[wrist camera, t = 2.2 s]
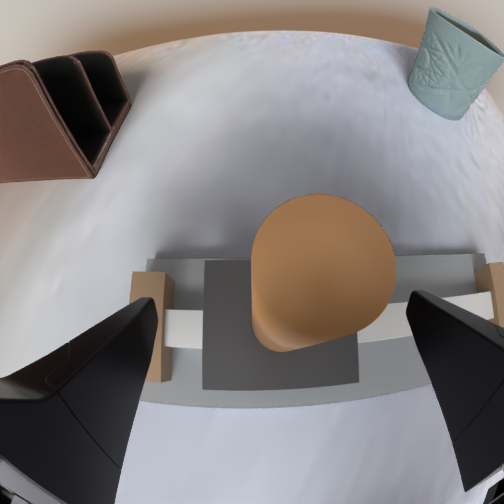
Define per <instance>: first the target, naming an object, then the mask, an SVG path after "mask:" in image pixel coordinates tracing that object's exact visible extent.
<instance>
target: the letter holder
mask: <svg viewBox="0 0 504 504" xmlns="http://www.w3.org/2000/svg"><path fill="white" fill-rule="evenodd" d="M131 106H132V104H131V101H130V98H129V95H128V93H127V91H126V87H125V86H124V83H123V81H122V79H121V76H120V73H119V71H118V68H117V66H116V63H115V60H114V58H113V57H112V55H111V54H110V53H108V52H106V51H85V52H80V53H75V54H71V55H67V56H57V57H53V58H47V59H43V60H40V61H36V62H33V63H31V62H29V61H26V60H18V61H13V62H10V63H7V64H4V65H1V66H0V183H5V182H21V181H37V180H55V179H86V178H92V179H94V178H95V177H96V174H97V173H98V171H99V168H100V166H101V164H102V162H103V160H104V158H105V155H106V153H107V151H108V149H109V147H110V145H111V143H112V141H113V139H114V137H115V135H116V133H117V131H118V129H119V128H120V126H121V124H122V122H123V120H124V118H125V117H126V115H127V113H128V111H129V110H130V108H131Z"/></svg>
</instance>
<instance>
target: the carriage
mask: <svg viewBox="0 0 504 504" xmlns="http://www.w3.org/2000/svg"><path fill="white" fill-rule="evenodd" d="M395 283H396V259H395V255H394V250H393V247H392V245H391V242H390V240H389V238H388V236H387V234H386V232H385V231H384V229H383V228H382V226H381V225H380V224H379V223H378V222H377V220H376V219H375V218H374V217H373V216H372V215H371V214H370V213H368V212H367V211H366V210H364V209H363V208H362V207H360V206H358V205H357V204H355V203H353V202H351V201H349V200H346V199H344V198H341V197H337V196H332V195H326V194H310V195H304V196H300V197H297V198H294V199H291V200H289V201H287V202H285V203H283V204H282V205H280V206H278V207H277V208H276V209H275V210H273V211H272V212H271V213H270V214H269V215H268V216H267V217H266V219H265V220H264V221H263V223H262V224H261V226H260V228H259V230H258V231H257V233H256V236H255V239H254V242H253V247H252V253H251V260H205V268H204V293H203V334H202V390H225V391H262V390H288V389H303V388H316V387H326V386H335V385H344V384H351V383H359V357H358V338H357V332H358V331H360V330H362V329H364V328H366V327H367V326H369V325H370V324H372V323H373V322H374V321H375V320H376V319H377V318H378V317H379V316H380V315H381V314H382V312H383V311H384V310H385V308H386V307H387V305H388V303H389V301H390V299H391V297H392V294H393V291H394V287H395Z"/></svg>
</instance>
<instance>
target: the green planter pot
mask: <svg viewBox="0 0 504 504" xmlns="http://www.w3.org/2000/svg"><path fill="white" fill-rule="evenodd" d="M420 46H421V47H420V49H419V53H418V55H417V56H416V61H415V63H414V67H413V70H412V72H411V75H410V77H409V81H408V86H409V89H410V91H411V92H412V94H413V95H414V96H415V97H416V98H417V99H418V100H419V101H420V102H421V103H422V104H423V105H424V106H426V107H427V108H428V109H430V110H431V111H433V112H434V113H436V114H438V115H440V116H442V117H444V118H446V119H449V120H459V119H461V118H462V117H463V116H464V114H465V113H466V112H467V110H468V109H469V108H470V105H471V103H473V102H474V101H475V99H477V97H478V96H479V94H480V93H481V92H482V91H483V89H484V88H485V86H486V84H487V83H488V81H489V79H490V78H491V77H492V76H493V74H494V73H495V72H496V71H497V69H498V68H499V67H500V66H501V64H502V63H503V62H504V54H503V53H502V52H501V51H500V50H499V49H498V48H497V47H496V46H495V45H494V44H493V43H492V42H490V41H489V40H488V39H487V38H486V37H485V36H483V35H482V34H480V33H479V32H478V31H477V30H475V29H474V28H472V27H471V26H469V25H468V24H466V23H464V22H463V21H461V20H460V19H458V18H456V17H454V16H452V15H450V14H448V13H446V12H444V11H442V10H439V9H437V8H433V7H432V8H430V10H429V14H428V19H427V23H426V30H425V31H424V34H423V38H422V42H421V45H420Z"/></svg>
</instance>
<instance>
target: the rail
mask: <svg viewBox="0 0 504 504" xmlns="http://www.w3.org/2000/svg"><path fill="white" fill-rule="evenodd" d="M395 259H396V283H395V287H394V291H393V294H392V297H391V299H390V301H389V303H388V305H387V307H386V308H385V310H384V311H383V312H382V314H381V315H380V316H379V317H378V318H377V319H376V320H375V321H374V322H373V323H372V324H370V325H369V326H367V327H366V328H364V329H362V330H360V331H358V332H357V338H358V357H359V383H351V384H344V385H335V386H326V387H316V388H303V389H288V390H262V391H225V390H202V334H203V293H204V268H205V260H251V258H203V259H147V265H146V272H133V274H132V282H131V292H130V303H129V304H131V303H132V302H134V301H136V300H137V299H139V298H140V297H152V298H153V299H154V301H155V305H156V310H157V314H158V328H157V333H156V338H155V343H154V348H153V354H152V359H151V363H150V366H149V370H148V373H147V376H146V379H145V383H144V386H143V389H142V393H141V396H140V401H144V402H152V403H160V404H169V405H179V406H191V407H208V408H281V407H297V406H310V405H320V404H329V403H337V402H345V401H352V400H358V399H364V398H370V397H376V396H381V395H386V394H391V393H396V392H400V391H405V390H409V389H413V388H417V387H421V386H425V385H428V384H432V383H431V381H430V378H429V375H428V373H427V371H426V368H425V366H424V363H423V361H422V359H421V356H420V354H419V352H418V349H417V346H416V343H415V340H414V337H413V334H412V331H411V328H410V325H409V323H408V320H407V317H406V308H407V304H408V301H409V298H410V294H411V292H412V291H413V290H424V291H426V292H428V293H431V294H433V295H435V296H437V297H439V298H442V299H444V300H446V301H448V302H450V303H452V304H455V305H457V306H459V307H461V308H463V309H465V310H467V311H470V312H472V313H474V314H476V315H478V316H480V317H482V318H484V319H486V320H488V321H490V322H492V323H494V324H497V325H499V326H501V327H503V328H504V264H503V262H500V263H489V264H486V259H485V255H484V254H447V255H402V256H395Z"/></svg>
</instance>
